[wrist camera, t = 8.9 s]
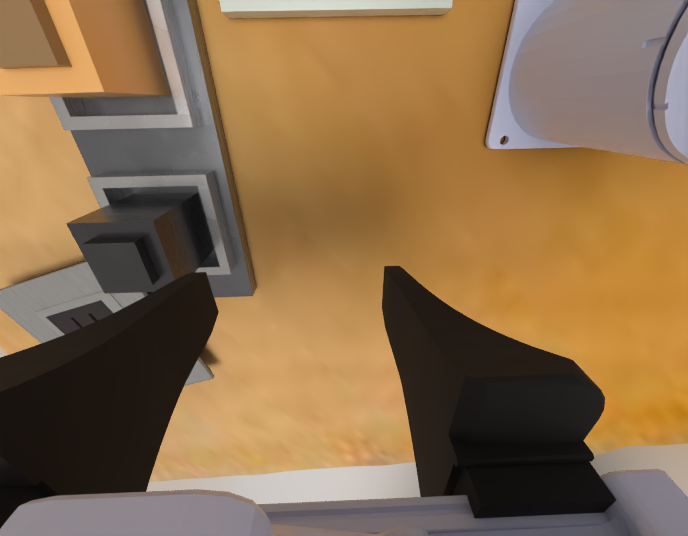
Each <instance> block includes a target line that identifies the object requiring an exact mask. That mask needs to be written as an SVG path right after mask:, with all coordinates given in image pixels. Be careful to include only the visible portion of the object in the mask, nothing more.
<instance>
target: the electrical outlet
mask: <svg viewBox="0 0 688 536" xmlns="http://www.w3.org/2000/svg"><path fill="white" fill-rule="evenodd" d="M147 295H149V294H148V293H147V292H138V293H107V294H104V292H103V290H102V288H101V286H100V285H99V283H98V281H97V279H96V277H95V275H94V274H93V272H92V270H91V268H90V266H89V264H88V263H87V261H85V262H82V263H79V264H76V265H73V266H70V267H67V268H64V269H61V270H58V271H54V272H51V273H48V274H45V275H42V276H39V277H36V278H33V279H30V280H27V281H24V282H21V283H18V284H15V285H12V286H9V287H6V288H3V289H0V309H1V310H2V311H4V312H5V313H6V314H7V315H8V316H10V317H11V318H12V319H13V320H14V321H15V322H17V323H18V324H19V325H20V326H21V327H23V328H24V329H25V330H26V331H27V332H29V333H30V334H31V335H32V336H33V337H34V338H36V339H37V340H38V341H39V342H40V343H44V342H47V341H50V340H52V339H55V338H57V337H60V336H63V335H65V334H68V333H71V332H73V331H75V330H78V329H80V328H82V327H85V326H87V325H89V324H92V323H94V322H96V321H98V320H100V319H103V318H105V317H107V316H109V315H111V314H113V313H115V312H117V311H119V310H121V309H123V308H125V307H126V306H128V305H130V304H132V303H134V302H136V301H138V300H140V299H142V298H144V297H145V296H147ZM213 378H214V375H213V373H212V371H211V370H210V368H209V367H208V366H207V365H206V364H205V362H204V361H203V360H202V359H201V357H200V356H199V358H198V360H197V362H196V364H195V366H194V368H193V369H192V371H191V373H190V375H189V377H188V379H187V381H186V383H185V385H184V386H186V385H190V384H194V383H198V382H202V381H206V380H210V379H213Z"/></svg>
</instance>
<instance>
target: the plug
mask: <svg viewBox="0 0 688 536" xmlns="http://www.w3.org/2000/svg"><path fill="white" fill-rule="evenodd" d="M0 96H33V97H68V98H118V97H147V96H171V95H170V92H169V88H168V85H167V81H166V78H165V74H164V71H163V67H162V64H161V61H160V57H159V54H158V50H157V47H156V43H155V40H154V36H153V33H152V29H151V26H150V22H149V19H148V16H147V12H146V9H145V5H144V2H143V0H0Z"/></svg>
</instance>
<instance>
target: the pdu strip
mask: <svg viewBox="0 0 688 536" xmlns="http://www.w3.org/2000/svg"><path fill="white" fill-rule="evenodd" d="M143 2H144V5H145V9H146V12H147V16H148V19H149V22H150V26H151V29H152V33H153V36H154V40H155V43H156V47H157V50H158V54H159V57H160V61H161V64H162V67H163V71H164V74H165V78H166V81H167V85H168V88H169V92H170V95H171V96H147V97H118V98H68V97H49V98H50V100H51V102H52V104H53V106H54V109H55V111H56V113H57V115H58V117H59V119H60V121H61V124H62V126H63V128H64V130H70V131H71V133H72V135H73V137H74V139H75V142H76V144H77V146H78V148H79V150H80V153H81V155H82V157H83V159H84V161H85V163H86V166H87V168H88V170H89V172H90V174H91V177H87V179H88V182H89V184H90V186H91V188H92V190H93V192H94V195H95V197H96V199H97V201H98V203H99V205H100V207H101V208H100V209H98V210H96V211H94V212H91V213H89V214H87V215H85V216H82V217H80V218H78V219H76V220H73V221H71V222H69V223H66V224H67V226H68V228H69V229H70V231H71V233H72V235H73V237H74V239H75V240H76V242H77V244H78V246H79V248H80V250H81V252H82V253H83V255H84V257H85V259H86V261H87V263H88V264H89V266H90V268H91V270H92V272H93V274H94V275H95V277H96V279H97V281H98V283H99V285H100V286H101V288H102V290H103V292H104V294H107V293H138V292H147V293H148V294H151V293H153V292H154V291H156V290H158V289H160V288H161V287H163V286H165V285H167V284H169V283H170V282H172V281H174V280H176V279H178V278H180V277H182V276H184V275H186V274H188V273H191V272H206V273H207V277H208V280H209V283H210V286H211V290H212V293H213V296H214V297H238V296H253V294H254V292H255V290H256V282H255V278H254V273H253V268H252V263H251V259H250V254H249V249H248V244H247V239H246V235H245V230H244V225H243V220H242V216H241V211H240V206H239V201H238V197H237V192H236V187H235V182H234V178H233V173H232V168H231V163H230V159H229V154H228V149H227V144H226V140H225V135H224V130H223V125H222V121H221V116H220V111H219V106H218V102H217V97H216V92H215V87H214V83H213V78H212V73H211V68H210V64H209V59H208V54H207V49H206V45H205V40H204V35H203V30H202V26H201V21H200V16H199V11H198V7H197V2H196V0H143Z"/></svg>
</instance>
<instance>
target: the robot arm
mask: <svg viewBox="0 0 688 536" xmlns="http://www.w3.org/2000/svg"><path fill="white" fill-rule="evenodd" d="M503 136H505V141H504V143H502V144H500V140H501V138H502V137H503ZM485 144H486V146H487V147H488V148H490V149H528V148H568V147H586V148H592V149H598V150H604V151H610V152H616V153H622V154H628V155H634V156H640V157H646V158H652V159H658V160H664V161H669V162H675V163H681V164H687V165H688V0H515V4H514V9H513V13H512V18H511V23H510V27H509V32H508V37H507V41H506V46H505V51H504V55H503V60H502V65H501V70H500V74H499V79H498V84H497V88H496V93H495V98H494V102H493V107H492V112H491V117H490V121H489V126H488V131H487V135H486V140H485ZM382 310H383V316H384V322H385V328H386V331H387V335H388V338H389V342H390V345H391V348H392V352H393V355H394V358H395V362H396V365H397V368H398V372H399V375H400V379H401V383H402V388H403V393H404V398H405V404H406V409H407V414H408V420H409V426H410V431H411V437H412V443H413V449H414V456H415V462H416V467H417V475H418V481H419V488H420V495H421V497H414V498H392V499H369V500H348V501H347V500H346V501H328V502H327V501H325V502H302V503H279V504H258V505H257V504H256V503H255V502H254V501H253V500H250V499H247V498H245V497H242V496H239V495H235V494H233V493H230V492H222V491H211V490H177V491H176V490H175V491H152V492H146V490H147V486H148V483H149V479H150V476H151V473H152V470H153V467H154V464H155V461H156V458H157V455H158V452H159V449H160V446H161V443H162V440H163V438H164V435H165V432H166V429H167V427H168V424H169V421H170V418H171V416H172V413H173V411H174V408H175V406H176V403H177V401H178V398H179V396H180V393H181V391H182V389H183V387H184V385H185V383H186V381H187V379H188V377H189V375H190V373H191V371H192V369H193V368H194V366H195V364H196V362H197V360H198V358H199V356H200V354H201V352H202V351H203V349H204V347H205V345H206V343H207V341H208V339H209V337H210V335H211V333H212V330H213V327H214V325H215V322H216V318H217V315H218V309H217V306H216V302H215V299H214V296H213V293H212V290H211V286H210V283H209V280H208V277H207V273H206V272H191V273H188V274H186V275H184V276H182V277H180V278H178V279H176V280H174V281H172V282H170V283H169V284H167V285H165V286H163V287H161V288H160V289H158V290H156V291H154V292H153V293H151V294H149V295H147V296H145V297H144V298H142V299H140V300H138V301H136V302H134V303H132V304H130V305H128V306H126V307H125V308H123V309H121V310H119V311H117V312H115V313H113V314H111V315H109V316H107V317H105V318H103V319H100V320H98V321H96V322H94V323H92V324H89V325H87V326H85V327H82V328H80V329H78V330H75V331H73V332H71V333H68V334H65V335H63V336H60V337H57V338H55V339H52V340H50V341H47V342H44V343H42V344H39V345H36V346H34V347H31V348H28V349H25V350H22V351H19V352H16V353H13V354H10V355H7V356H4V357H1V358H0V536H688V497H687V496H686V495H685V494H684V493H683V492H682V490H681V489H680V488H679V487H678V486H677V485H676V484H675V483H674V482H673V480H672V479H671V478H670V477H669V476H668V475H667V474H666V473H665V472H664V471H662V470H659V469H650V470H627V471H614V472H609V473H606V474H604V475H602V476H599V475H598V473H597V472H596V470H595V469H594V468H593V466H592V465H591V463H590V462H589V461H592V460H593V459H594V455H593V453H592V452H591V450H590V449H589V448H588V446H587V445H586V444H585V442H584V441H583V440H584V439H585V437H586V436H587V435H588V433H589V432H590V431H591V429H592V428H593V426H594V425H595V424H596V422H597V421H598V420H599V418H600V416H601V414H602V412H603V410H604V404H605V397H604V395H603V393H602V391H601V390H600V389H599V387H598V386H597V385H596V384H595V383H594V382H593V381H592V380H591V379H590V378H589V377H588V376H587V375H586V374H585V373H584V371H583V370H582V369H581V368H580V367H579V366H578V365H577V364H576V363H575V362H574V361H573V360H571V359H568V358H565V357H562V356H559V355H556V354H553V353H550V352H547V351H544V350H541V349H538V348H535V347H532V346H530V345H527V344H524V343H522V342H519V341H517V340H514V339H512V338H509V337H507V336H505V335H503V334H500V333H498V332H496V331H494V330H492V329H490V328H488V327H486V326H484V325H482V324H479V323H477V322H476V321H474V320H472V319H470V318H468V317H467V316H465V315H463V314H462V313H460V312H458V311H457V310H455V309H453V308H452V307H450V306H449V305H447V304H446V303H444V302H443V301H442V300H440V299H439V298H437V297H436V296H435V295H433V294H432V293H431V292H429V291H428V290H427V289H426V288H424V287H423V286H422V285H421V284H420V283H418V282H417V281H416V280H415V279H414V278H413V277H412V276H410V275H409V274H408V273H407V272H406V271H405V270H404V269H403V268H401V267H400V266H384V283H383V299H382Z"/></svg>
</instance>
